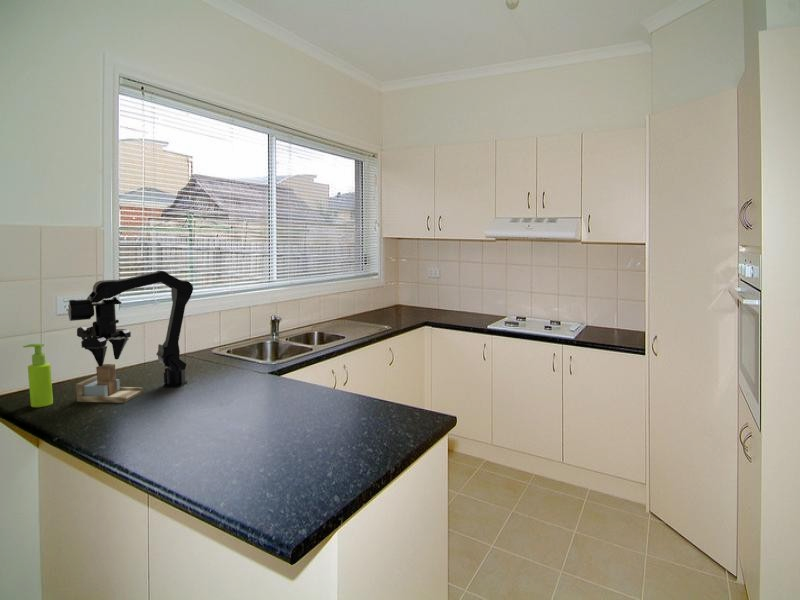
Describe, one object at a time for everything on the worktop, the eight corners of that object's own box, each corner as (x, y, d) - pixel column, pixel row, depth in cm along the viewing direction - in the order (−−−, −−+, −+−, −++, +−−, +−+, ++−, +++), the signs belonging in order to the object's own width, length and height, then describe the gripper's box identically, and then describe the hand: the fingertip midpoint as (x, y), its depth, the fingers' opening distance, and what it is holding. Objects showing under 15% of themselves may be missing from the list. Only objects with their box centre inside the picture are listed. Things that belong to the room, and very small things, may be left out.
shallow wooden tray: (142, 392, 171) (141, 375, 170) (124, 402, 160) (123, 385, 159) (97, 391, 171) (96, 375, 170) (77, 401, 160) (75, 384, 159)
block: (120, 389, 170) (119, 379, 169) (105, 397, 161) (104, 386, 161) (100, 389, 170) (99, 378, 169) (84, 396, 161) (83, 386, 161)
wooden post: (105, 392, 167) (103, 364, 166) (116, 392, 167) (115, 364, 166) (98, 395, 163) (96, 367, 162) (109, 395, 163) (108, 367, 162)
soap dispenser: (35, 401, 160) (30, 342, 157) (57, 401, 160) (52, 342, 158) (23, 407, 154) (18, 346, 151) (45, 407, 154) (41, 346, 152)
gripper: (99, 313, 173) (102, 355, 174) (63, 322, 154) (66, 369, 156) (130, 313, 173) (132, 356, 174) (97, 322, 154) (101, 370, 156)
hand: (108, 362), depth 165 cm, fingers open, 9 cm apart
